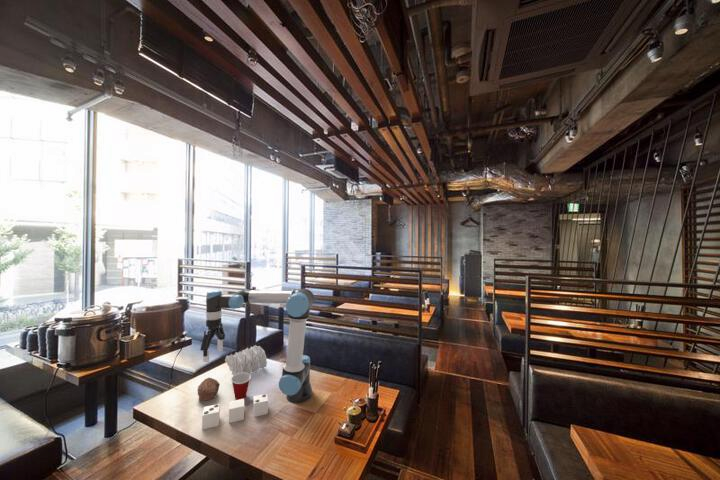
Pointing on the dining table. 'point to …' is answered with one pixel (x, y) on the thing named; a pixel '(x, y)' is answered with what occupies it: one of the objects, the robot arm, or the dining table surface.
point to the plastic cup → (240, 385)
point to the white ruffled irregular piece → (247, 360)
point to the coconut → (208, 389)
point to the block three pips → (210, 416)
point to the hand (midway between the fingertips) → (213, 356)
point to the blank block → (236, 410)
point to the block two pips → (260, 405)
